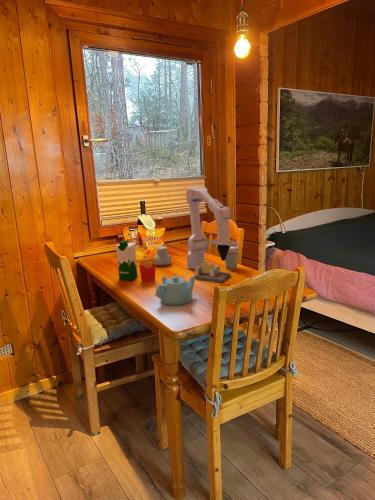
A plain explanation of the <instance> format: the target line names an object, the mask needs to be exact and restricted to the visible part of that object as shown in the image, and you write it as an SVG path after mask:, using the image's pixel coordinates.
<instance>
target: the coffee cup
mask: <svg viewBox="0 0 375 500" xmlns="http://www.w3.org/2000/svg"><path fill="white" fill-rule="evenodd" d="M239 252H240V248H239V246H238V247H232V246H230V248H229V250H228V253H227V256H226V260H225V261H224V263H225V269H226V270H227V271H228V270H229V271H235V270H237V267H238V260H239Z"/></svg>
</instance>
